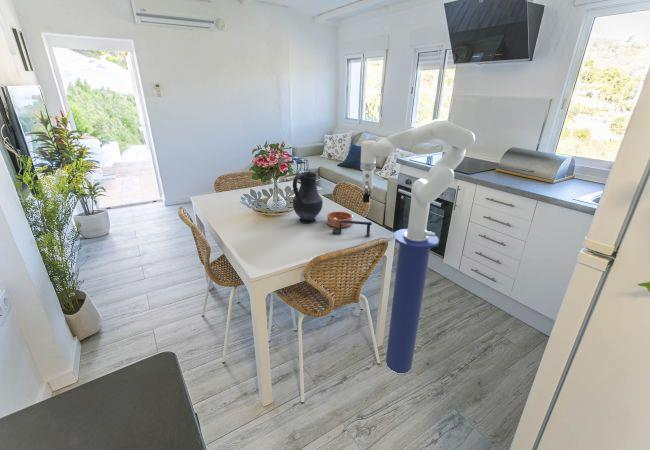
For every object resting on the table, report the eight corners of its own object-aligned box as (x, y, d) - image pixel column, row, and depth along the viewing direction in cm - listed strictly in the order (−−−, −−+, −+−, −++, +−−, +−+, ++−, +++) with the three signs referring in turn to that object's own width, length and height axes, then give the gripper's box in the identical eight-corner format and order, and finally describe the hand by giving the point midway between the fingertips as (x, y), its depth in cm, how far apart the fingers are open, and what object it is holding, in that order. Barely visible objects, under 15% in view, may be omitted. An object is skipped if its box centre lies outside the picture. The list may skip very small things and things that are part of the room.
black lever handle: (370, 234, 172) (371, 221, 169) (370, 237, 167) (371, 224, 165) (333, 230, 175) (333, 218, 172) (332, 234, 171) (332, 221, 168)
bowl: (352, 220, 191) (353, 212, 189) (350, 229, 177) (350, 221, 176) (329, 218, 193) (329, 210, 191) (325, 227, 180) (325, 219, 178)
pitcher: (327, 219, 191) (328, 170, 179) (307, 230, 175) (306, 178, 163) (304, 213, 200) (304, 166, 188) (283, 223, 184) (281, 173, 172)
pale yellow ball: (337, 222, 183) (333, 224, 184) (338, 220, 186) (334, 222, 187) (335, 217, 182) (331, 219, 183) (336, 216, 185) (331, 218, 186)
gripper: (375, 170, 147) (373, 204, 154) (376, 163, 163) (374, 194, 170) (359, 169, 149) (358, 203, 155) (361, 162, 164) (360, 194, 171)
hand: (366, 199), depth 162 cm, fingers open, 9 cm apart
